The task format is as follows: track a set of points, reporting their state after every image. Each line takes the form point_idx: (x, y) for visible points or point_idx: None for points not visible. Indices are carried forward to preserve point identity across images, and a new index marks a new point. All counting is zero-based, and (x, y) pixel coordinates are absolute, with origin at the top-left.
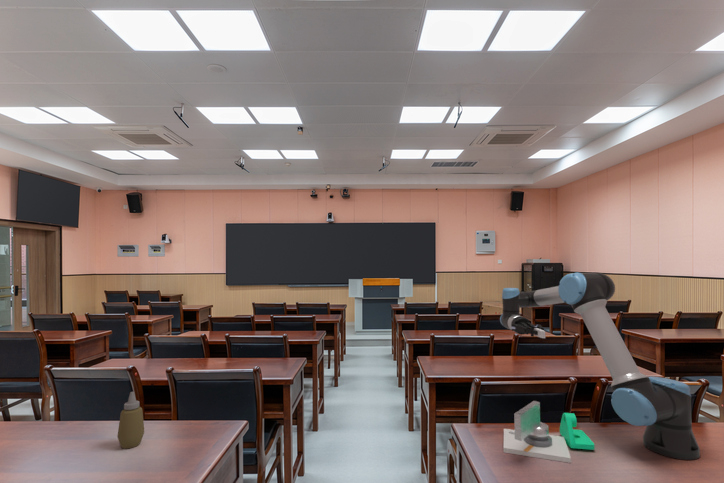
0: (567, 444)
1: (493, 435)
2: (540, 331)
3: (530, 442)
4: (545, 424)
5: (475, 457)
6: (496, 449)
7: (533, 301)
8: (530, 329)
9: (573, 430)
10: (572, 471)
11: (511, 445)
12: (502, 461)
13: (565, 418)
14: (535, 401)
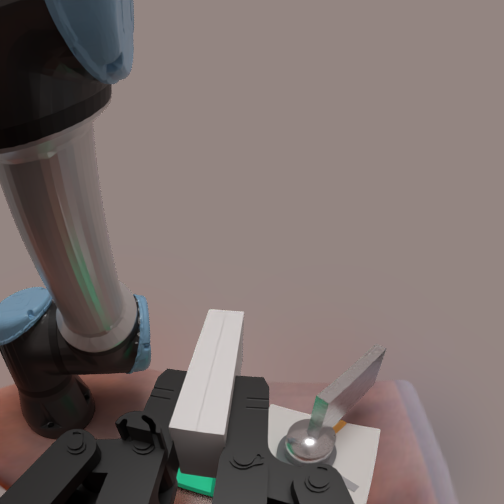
0: None
1: (388, 493)
2: (241, 328)
3: None
4: (290, 438)
5: (421, 415)
6: (388, 442)
7: None
8: (266, 474)
9: (192, 481)
10: (281, 391)
11: (364, 438)
12: (382, 410)
13: None
14: (326, 399)
